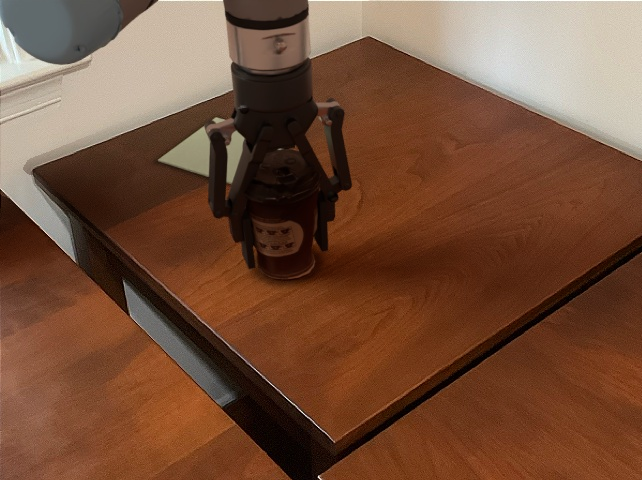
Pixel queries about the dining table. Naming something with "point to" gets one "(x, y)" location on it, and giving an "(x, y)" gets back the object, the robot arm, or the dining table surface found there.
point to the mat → (203, 153)
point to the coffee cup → (284, 214)
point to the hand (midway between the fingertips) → (285, 252)
